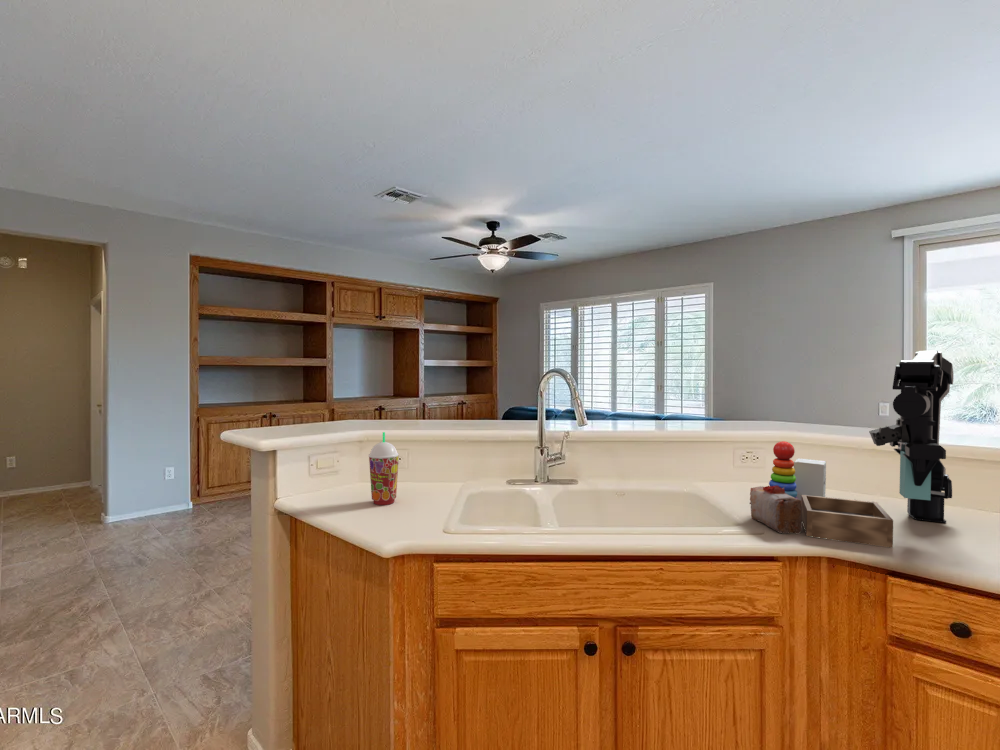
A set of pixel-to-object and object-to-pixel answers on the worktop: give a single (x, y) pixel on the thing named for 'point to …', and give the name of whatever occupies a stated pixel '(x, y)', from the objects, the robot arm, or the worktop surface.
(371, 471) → the smoothie
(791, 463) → the stacking toy
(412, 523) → the worktop surface
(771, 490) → the weathered brown brick
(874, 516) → the bore box
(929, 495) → the peg
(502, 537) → the worktop surface
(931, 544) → the worktop surface
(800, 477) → the supplement box
